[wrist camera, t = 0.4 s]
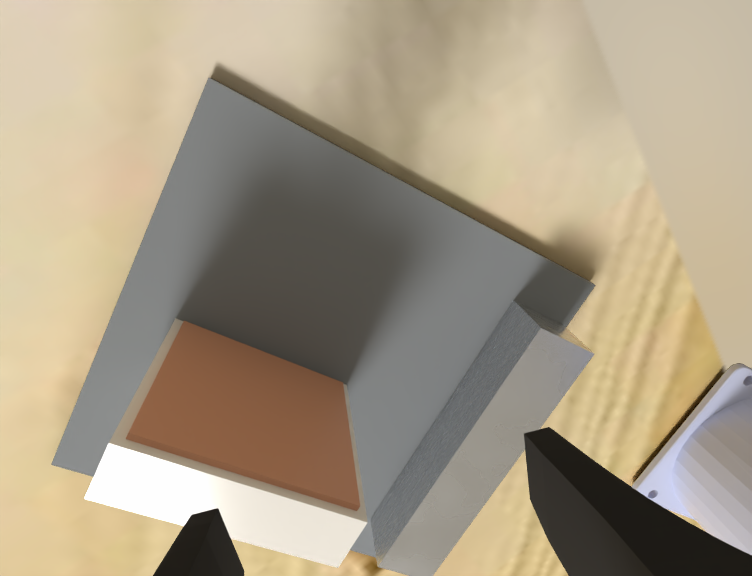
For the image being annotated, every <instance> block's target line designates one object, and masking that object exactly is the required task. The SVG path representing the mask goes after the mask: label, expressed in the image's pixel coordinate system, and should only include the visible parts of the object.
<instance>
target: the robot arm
mask: <svg viewBox="0 0 752 576" xmlns="http://www.w3.org/2000/svg"><path fill="white" fill-rule="evenodd" d="M524 441H525V451H526V462H527V472H528V482H529V492H530V500H531V502H532V505H533V507H534V509H535V511H536V514H537V516H538V518H539V521H540V523H541V525H542V527H543V529H544V532H545V534H546V536H547V538H548V540H549V542H550V544H551V546H552V548H553V549H554V551H555V553H556V554H557V556H558V558H559V560H560V561H561V563H562V565H563V567H564V568H565V570H566V572H567V573H568V575H569V576H752V369H751V368H749V367H747V366H745V365H744V364H741V363H737V364H734V365H732V366H730V367H729V368H728V369H727V370H726V372H725V373H724V374H723V375H722V376H721V378H720V379H719V380H718V381H717V382H716V384H715V385H714V386H713V387H712V389H711V390H710V391H709V392H708V393H707V395H706V396H705V397H704V398H703V399H702V401H701V402H700V403H699V404H698V406H697V407H696V408H695V409H694V410H693V412H692V413H691V414H690V415H689V416H688V418H687V419H686V420H685V421H684V423H683V424H682V425H681V426H680V427H679V429H678V430H677V431H676V432H675V433H674V435H673V436H672V437H671V438H670V440H669V441H668V442H667V443H666V444H665V446H664V447H663V448H662V449H661V451H660V452H659V453H658V454H657V455H656V457H655V458H654V459H653V460H652V461H651V463H650V464H649V465H648V466H647V468H646V469H645V470H644V471H643V472H642V474H641V475H640V476H639V477H638V478H637V480H636V481H635V482H634V484H633V485H632V487H631V486H629V485H628V484H626V483H625V482H624V481H622V480H621V479H619V478H618V477H616V476H615V475H613V474H612V473H610V472H609V471H608V470H606V469H605V468H603V467H602V466H601V465H599V464H598V463H596V462H595V461H594V460H592V459H591V458H590V457H588V456H587V455H586V454H584V453H583V452H582V451H580V450H579V449H578V448H576V447H575V446H574V445H572V444H571V443H570V442H568V441H567V440H566V439H564V438H563V437H562V436H561V435H559V434H558V433H557V432H555V431H554V430H552V429H551V428H549V427H548V428H544V429H539V430H535V431H531V432H527V433H524ZM667 509H668V510H670V511H673V512H675V513H678V514H681V515H683V516H686V517H688V518H691V519H693V520H696V521H697V522H698V523H699V524H700V525H701V526H702V527H703V529H704V530H705V531H706V532H705V531H703V530H701V529H699V528H698V527H696V526H694V525H692V524H690V523H688V522H687V521H685V520H683V519H682V518H680V517H678V516H677V515H675V514H673V513H671V512H670V511H668V510H667ZM153 576H244V569H243V567H242V564H241V562H240V560H239V557H238V555H237V552H236V550H235V548H234V545H233V543H232V540H231V538H230V536H229V533H228V531H227V528H226V526H225V523H224V521H223V519H222V516H221V514H220V511H219V509H218V508H216V509H212V510H208V511H204V512H200V513H196V514H192V515H191V516H190V518H189V519H188V521H187V522H186V524H185V525H184V527H183V528H182V530H181V532H180V533H179V535H178V536H177V538H176V540H175V541H174V543H173V544H172V546H171V548H170V549H169V551H168V552H167V554H166V556H165V557H164V559H163V560H162V562H161V564H160V565H159V567H158V568H157V570H156V572H155V573H154V575H153Z"/></svg>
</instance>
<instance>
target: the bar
mask: <svg viewBox="0 0 752 576" xmlns="http://www.w3.org/2000/svg"><path fill="white" fill-rule="evenodd" d="M593 355H594V353H593V352H592V351H591V350H590V349H589V348H588V347H586V346H585V345H584V344H583V343H582V342H581V341H580V340H579V339H578V338H577V337H576V336H575V335H573V334H572V333H571V332H570V331H569V330H568V329H567V328H566V327H565V326H564V325H563V324H561V323H559V322H557V321H555V320H553V319H551V318H549V317H547V316H545V315H543V314H541V313H539V312H537V311H535V310H533V309H531V308H529V307H527V306H525V305H523V304H521V303H519V302H517V301H514V300H513V302H512V303H511V305H510V306H509V308H508V309H507V311H506V312H505V314H504V315H503V317H502V318H501V320H500V321H499V323H498V324H497V326H496V328H495V329H494V331H493V332H492V334H491V335H490V337H489V338H488V340H487V341H486V343H485V344H484V346H483V347H482V349H481V350H480V352H479V354H478V355H477V357H476V358H475V360H474V361H473V363H472V364H471V366H470V367H469V369H468V370H467V372H466V373H465V375H464V377H463V378H462V380H461V381H460V383H459V384H458V386H457V387H456V389H455V390H454V392H453V393H452V395H451V396H450V398H449V399H448V401H447V403H446V404H445V406H444V407H443V409H442V410H441V412H440V413H439V415H438V416H437V418H436V419H435V421H434V422H433V424H432V425H431V427H430V429H429V430H428V432H427V433H426V435H425V436H424V438H423V439H422V441H421V442H420V444H419V445H418V447H417V448H416V450H415V451H414V453H413V455H412V456H411V458H410V459H409V461H408V462H407V464H406V465H405V467H404V468H403V470H402V471H401V473H400V474H399V476H398V477H397V479H396V481H395V482H394V484H393V485H392V487H391V488H390V490H389V491H388V493H387V494H386V496H385V497H384V499H383V500H382V502H381V503H380V505H379V507H378V508H377V510H376V511H375V513H374V514H373V516H372V517H371V519H370V521H371V527H372V533H373V540H374V546H375V552H376V559H377V565H378V567H380V568H384V569H387V570H391V571H395V572H398V573H402V574H405V575H409V576H433V575H434V573H435V572H436V571H437V569H438V568H439V567H440V565H441V564H442V562H443V561H444V560H445V558H446V557H447V556H448V554H449V553H450V551H451V550H452V549H453V547H454V546H455V545H456V543H457V542H458V540H459V539H460V538H461V536H462V535H463V534H464V532H465V531H466V529H467V528H468V527H469V525H470V524H471V523H472V521H473V520H474V519H475V517H476V516H477V514H478V513H479V512H480V510H481V509H482V508H483V506H484V505H485V503H486V502H487V501H488V499H489V498H490V497H491V495H492V494H493V492H494V491H495V490H496V488H497V487H498V486H499V484H500V483H501V481H502V480H503V479H504V477H505V476H506V475H507V473H508V472H509V470H510V469H511V468H512V466H513V465H514V464H515V462H516V461H517V460H518V458H519V457H520V455H521V454H522V453H523V451H524V450H525V441H524V433H527V432H531V431H535V430H539V429H540V428H541V427H542V425H543V424H544V422H545V421H546V420H547V418H548V417H549V416H550V414H551V413H552V411H553V410H554V409H555V407H556V406H557V405H558V403H559V402H560V400H561V399H562V398H563V396H564V395H565V394H566V392H567V391H568V390H569V388H570V387H571V385H572V384H573V383H574V381H575V380H576V379H577V377H578V376H579V374H580V373H581V372H582V370H583V369H584V368H585V366H586V365H587V363H588V362H589V361H590V359H591V358H592V357H593Z"/></svg>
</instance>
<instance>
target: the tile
mask: <svg viewBox="0 0 752 576" xmlns="http://www.w3.org/2000/svg"><path fill="white" fill-rule="evenodd" d="M84 499H87V500H91V501H94V502H98V503H102V504H105V505H109V506H113V507H116V508H120V509H124V510H127V511H131V512H135V513H138V514H142V515H146V516H149V517H153V518H157V519H160V520H164V521H168V522H171V523H175V524H179V525H182V526H184V525H185V524H186V522H187V521H188V519H189V518H190V516H191V515H192V514H196V513H200V512H204V511H208V510H212V509H216V508H218V509H219V511H220V514H221V516H222V519H223V521H224V523H225V526H226V528H227V531H228V533H229V536H230V538H231V539H234V540H238V541H241V542H245V543H249V544H252V545H256V546H260V547H263V548H267V549H271V550H274V551H278V552H282V553H285V554H289V555H293V556H296V557H300V558H304V559H307V560H311V561H315V562H318V563H322V564H326V565H329V566H333V567H337V568H338V567H339V566H340V564H341V563H342V561H343V560H344V558H345V556H346V555H347V553H348V552H349V550H350V549H351V547H352V546H353V544H354V543H355V541H356V540H357V538H358V537H359V535H360V533H361V532H362V530H363V529H364V527H365V526H366V524H367V523H368V522H367V515H366V508H365V502H364V495H363V489H362V482H361V475H360V469H359V462H358V455H357V449H356V442H355V436H354V429H353V422H352V416H351V409H350V403H349V396H348V389H347V385H346V384H343V382H341V381H338V380H335V379H333V378H330V377H328V376H325V375H323V374H320V373H317V372H315V371H312V370H310V369H307V368H305V367H302V366H299V365H297V364H294V363H292V362H289V361H287V360H284V359H282V358H279V357H276V356H274V355H271V354H269V353H266V352H264V351H261V350H258V349H256V348H253V347H251V346H248V345H246V344H243V343H241V342H238V341H235V340H233V339H230V338H228V337H225V336H223V335H220V334H217V333H215V332H212V331H210V330H207V329H205V328H202V327H199V326H197V325H194V324H192V323H189V322H187V321H181V320H179V319H176V318H175V320H174V322H173V324H172V326H171V328H170V330H169V332H168V333H167V335H166V337H165V339H164V341H163V343H162V345H161V346H160V348H159V350H158V352H157V354H156V356H155V358H154V360H153V361H152V363H151V365H150V367H149V369H148V371H147V373H146V374H145V376H144V378H143V380H142V382H141V384H140V386H139V388H138V389H137V391H136V393H135V395H134V397H133V399H132V401H131V402H130V404H129V406H128V408H127V410H126V412H125V414H124V416H123V417H122V419H121V421H120V423H119V425H118V427H117V429H116V430H115V432H114V434H113V436H112V438H111V440H110V442H109V444H108V446H107V448H106V450H105V453H104V455H103V457H102V459H101V462H100V464H99V466H98V469H97V471H96V473H95V475H94V478H93V480H92V482H91V484H90V487H89V489H88V491H87V494H86V496H85V498H84Z"/></svg>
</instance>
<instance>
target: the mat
mask: <svg viewBox="0 0 752 576" xmlns="http://www.w3.org/2000/svg"><path fill="white" fill-rule="evenodd" d="M594 287H595V285H594V284H593V283H591V282H590V281H588V280H586V279H584V278H582V277H581V276H579V275H577V274H575V273H573V272H571V271H569V270H568V269H566V268H564V267H562V266H560V265H558V264H556V263H555V262H553V261H551V260H549V259H547V258H545V257H543V256H541V255H540V254H538V253H536V252H534V251H532V250H530V249H528V248H527V247H525V246H523V245H521V244H519V243H517V242H515V241H514V240H512V239H510V238H508V237H506V236H504V235H502V234H501V233H499V232H497V231H495V230H493V229H491V228H489V227H488V226H486V225H484V224H482V223H480V222H478V221H476V220H474V219H473V218H471V217H469V216H467V215H465V214H463V213H461V212H460V211H458V210H456V209H454V208H452V207H450V206H448V205H447V204H445V203H443V202H441V201H439V200H437V199H435V198H434V197H432V196H430V195H428V194H426V193H424V192H422V191H420V190H419V189H417V188H415V187H413V186H411V185H409V184H407V183H406V182H404V181H402V180H400V179H398V178H396V177H394V176H393V175H391V174H389V173H387V172H385V171H383V170H381V169H380V168H378V167H376V166H374V165H372V164H370V163H368V162H367V161H365V160H363V159H361V158H359V157H357V156H355V155H353V154H352V153H350V152H348V151H346V150H344V149H342V148H340V147H339V146H337V145H335V144H333V143H331V142H329V141H327V140H326V139H324V138H322V137H320V136H318V135H316V134H314V133H313V132H311V131H309V130H307V129H305V128H303V127H301V126H299V125H298V124H296V123H294V122H292V121H290V120H288V119H286V118H285V117H283V116H281V115H279V114H277V113H275V112H273V111H272V110H270V109H268V108H266V107H264V106H262V105H260V104H259V103H257V102H255V101H253V100H251V99H249V98H247V97H246V96H244V95H242V94H240V93H238V92H236V91H234V90H232V89H231V88H229V87H227V86H225V85H223V84H221V83H219V82H218V81H216V80H214V79H212V78H208V80H207V83H206V85H205V88H204V90H203V93H202V95H201V98H200V100H199V103H198V105H197V107H196V110H195V112H194V115H193V117H192V120H191V122H190V125H189V127H188V130H187V132H186V135H185V137H184V139H183V142H182V144H181V147H180V149H179V152H178V154H177V157H176V159H175V162H174V164H173V166H172V169H171V171H170V174H169V176H168V179H167V181H166V184H165V186H164V189H163V191H162V194H161V196H160V198H159V201H158V203H157V206H156V208H155V211H154V213H153V216H152V218H151V221H150V223H149V225H148V228H147V230H146V233H145V235H144V238H143V240H142V243H141V245H140V248H139V250H138V253H137V255H136V257H135V260H134V262H133V265H132V267H131V270H130V272H129V275H128V277H127V280H126V282H125V285H124V287H123V289H122V292H121V294H120V297H119V299H118V302H117V304H116V307H115V309H114V312H113V314H112V316H111V319H110V321H109V324H108V326H107V329H106V331H105V334H104V336H103V339H102V341H101V344H100V346H99V348H98V351H97V353H96V356H95V358H94V361H93V363H92V366H91V368H90V371H89V373H88V375H87V378H86V380H85V383H84V385H83V388H82V390H81V393H80V395H79V398H78V400H77V403H76V405H75V407H74V410H73V412H72V415H71V417H70V420H69V422H68V425H67V427H66V430H65V432H64V435H63V437H62V439H61V442H60V444H59V447H58V449H57V452H56V454H55V457H54V459H53V462H52V464H51V465H54V466H58V467H61V468H65V469H68V470H72V471H75V472H79V473H82V474H86V475H89V476H93V477H94V475H95V473H96V471H97V469H98V466H99V464H100V462H101V459H102V457H103V455H104V453H105V450H106V448H107V446H108V444H109V442H110V440H111V438H112V436H113V434H114V432H115V430H116V429H117V427H118V425H119V423H120V421H121V419H122V417H123V416H124V414H125V412H126V410H127V408H128V406H129V404H130V402H131V401H132V399H133V397H134V395H135V393H136V391H137V389H138V388H139V386H140V384H141V382H142V380H143V378H144V376H145V374H146V373H147V371H148V369H149V367H150V365H151V363H152V361H153V360H154V358H155V356H156V354H157V352H158V350H159V348H160V346H161V345H162V343H163V341H164V339H165V337H166V335H167V333H168V332H169V330H170V328H171V326H172V324H173V322H174V320H175V318H176V319H179V320H181V321H187V322H189V323H192V324H194V325H197V326H199V327H202V328H205V329H207V330H210V331H212V332H215V333H217V334H220V335H223V336H225V337H228V338H230V339H233V340H235V341H238V342H241V343H243V344H246V345H248V346H251V347H253V348H256V349H258V350H261V351H264V352H266V353H269V354H271V355H274V356H276V357H279V358H282V359H284V360H287V361H289V362H292V363H294V364H297V365H299V366H302V367H305V368H307V369H310V370H312V371H315V372H317V373H320V374H323V375H325V376H328V377H330V378H333V379H335V380H338V381H341V382H343V384H346V385H347V389H348V396H349V403H350V409H351V416H352V422H353V429H354V436H355V442H356V449H357V455H358V462H359V469H360V475H361V482H362V489H363V495H364V502H365V508H366V515H367V522H368V523H367V524H366V526H365V527H364V529H363V530H362V532H361V533H360V535H359V537H358V538H357V540H356V541H355V543H354V544H353V546H352V547H351V549H350V550H352V551H355V552H359V553H362V554H366V555H369V556H373V557H376V552H375V546H374V540H373V533H372V527H371V521H370V519H371V517H372V516H373V514H374V513H375V511H376V510H377V508H378V507H379V505H380V503H381V502H382V500H383V499H384V497H385V496H386V494H387V493H388V491H389V490H390V488H391V487H392V485H393V484H394V482H395V481H396V479H397V477H398V476H399V474H400V473H401V471H402V470H403V468H404V467H405V465H406V464H407V462H408V461H409V459H410V458H411V456H412V455H413V453H414V451H415V450H416V448H417V447H418V445H419V444H420V442H421V441H422V439H423V438H424V436H425V435H426V433H427V432H428V430H429V429H430V427H431V425H432V424H433V422H434V421H435V419H436V418H437V416H438V415H439V413H440V412H441V410H442V409H443V407H444V406H445V404H446V403H447V401H448V399H449V398H450V396H451V395H452V393H453V392H454V390H455V389H456V387H457V386H458V384H459V383H460V381H461V380H462V378H463V377H464V375H465V373H466V372H467V370H468V369H469V367H470V366H471V364H472V363H473V361H474V360H475V358H476V357H477V355H478V354H479V352H480V350H481V349H482V347H483V346H484V344H485V343H486V341H487V340H488V338H489V337H490V335H491V334H492V332H493V331H494V329H495V328H496V326H497V324H498V323H499V321H500V320H501V318H502V317H503V315H504V314H505V312H506V311H507V309H508V308H509V306H510V305H511V303H512V302H513V300H514V301H517V302H519V303H521V304H523V305H525V306H527V307H529V308H531V309H533V310H535V311H537V312H539V313H541V314H543V315H545V316H547V317H549V318H551V319H553V320H555V321H557V322H559V323H561V324H563V325H564V326H565V327H567V325H568V324H569V323H570V321H571V320H572V318H573V317H574V315H575V314H576V313H577V311H578V310H579V308H580V307H581V305H582V304H583V303H584V301H585V300H586V298H587V297H588V295H589V294H590V293H591V291H592V290H593V288H594Z"/></svg>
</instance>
